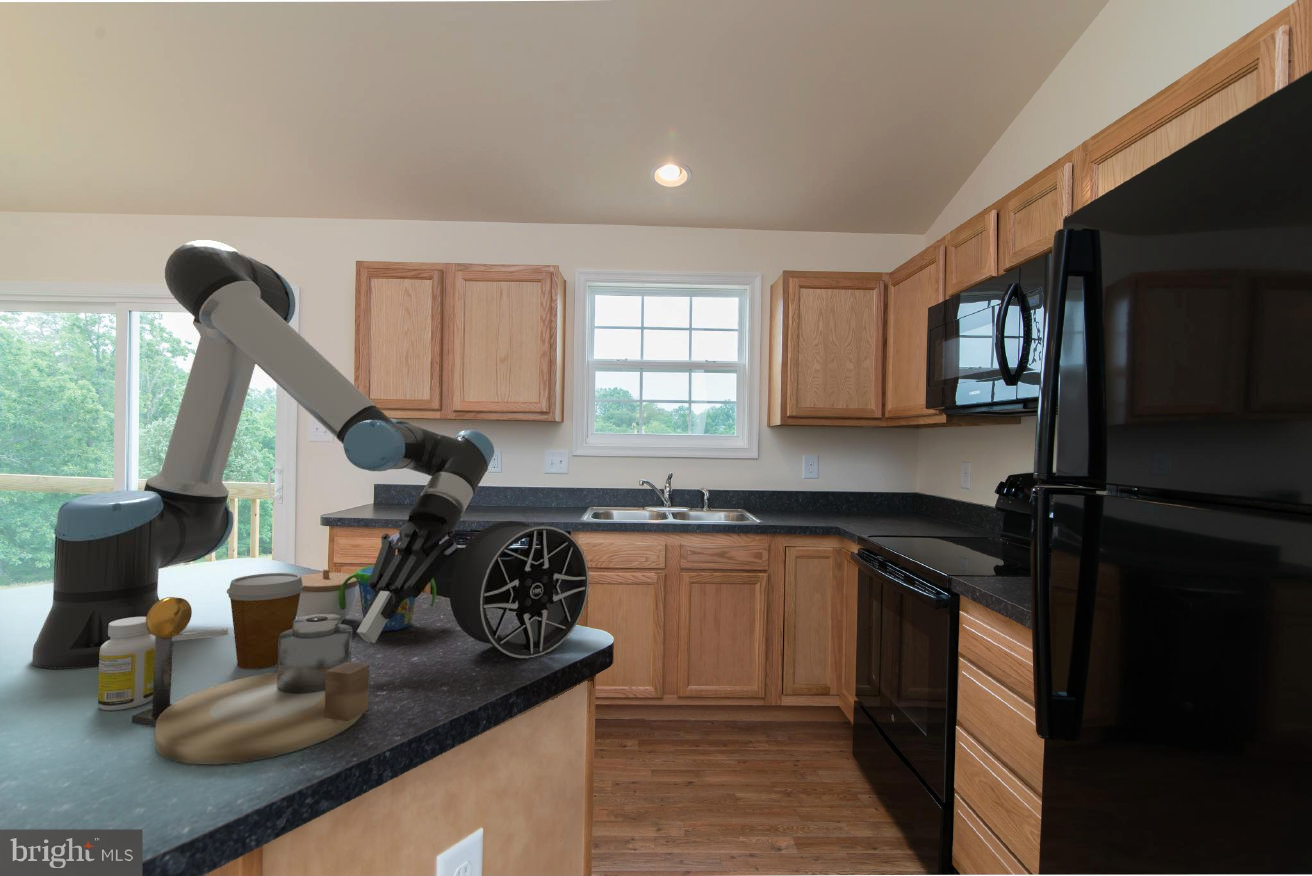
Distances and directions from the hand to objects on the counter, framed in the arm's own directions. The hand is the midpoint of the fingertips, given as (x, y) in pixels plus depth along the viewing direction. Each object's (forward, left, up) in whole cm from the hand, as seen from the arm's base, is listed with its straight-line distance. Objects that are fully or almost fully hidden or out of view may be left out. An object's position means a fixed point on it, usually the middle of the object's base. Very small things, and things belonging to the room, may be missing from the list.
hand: (365, 637), depth 84 cm
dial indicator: (-11, -17, -5) cm, 21 cm away
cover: (0, -9, -3) cm, 9 cm away
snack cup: (-12, +20, -5) cm, 24 cm away
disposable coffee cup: (-17, 0, -5) cm, 18 cm away
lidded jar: (-24, +19, -5) cm, 31 cm away
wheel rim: (+15, +17, -5) cm, 23 cm away
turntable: (+1, -15, -5) cm, 16 cm away
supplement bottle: (-20, -16, -5) cm, 26 cm away
